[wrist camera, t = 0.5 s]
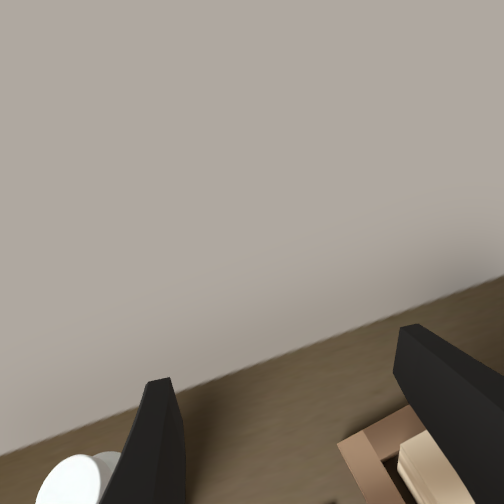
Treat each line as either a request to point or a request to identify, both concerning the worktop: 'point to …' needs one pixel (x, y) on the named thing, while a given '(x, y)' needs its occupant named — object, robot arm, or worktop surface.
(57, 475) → the supplement bottle
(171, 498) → the robot arm
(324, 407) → the worktop surface
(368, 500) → the pocket block
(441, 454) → the maple part
